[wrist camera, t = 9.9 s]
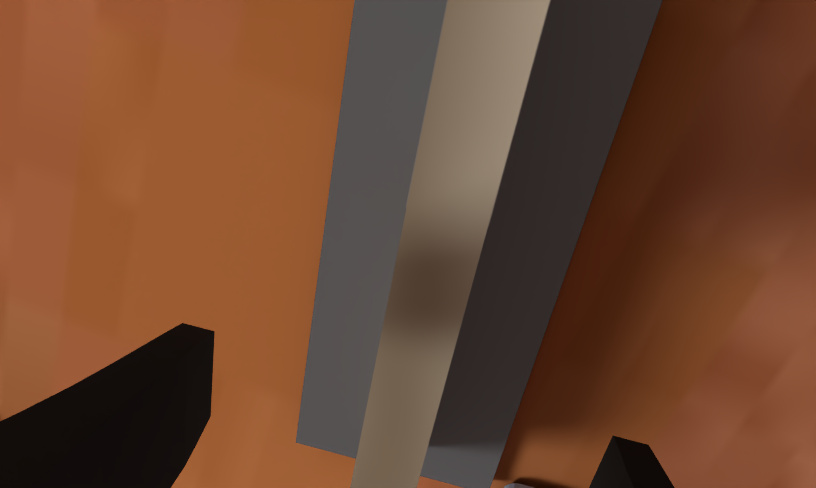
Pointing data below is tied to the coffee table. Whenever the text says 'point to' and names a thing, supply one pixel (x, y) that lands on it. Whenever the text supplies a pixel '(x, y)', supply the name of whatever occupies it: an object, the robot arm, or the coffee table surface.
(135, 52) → the coffee table surface
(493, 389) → the rubber mat
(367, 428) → the beige bar
